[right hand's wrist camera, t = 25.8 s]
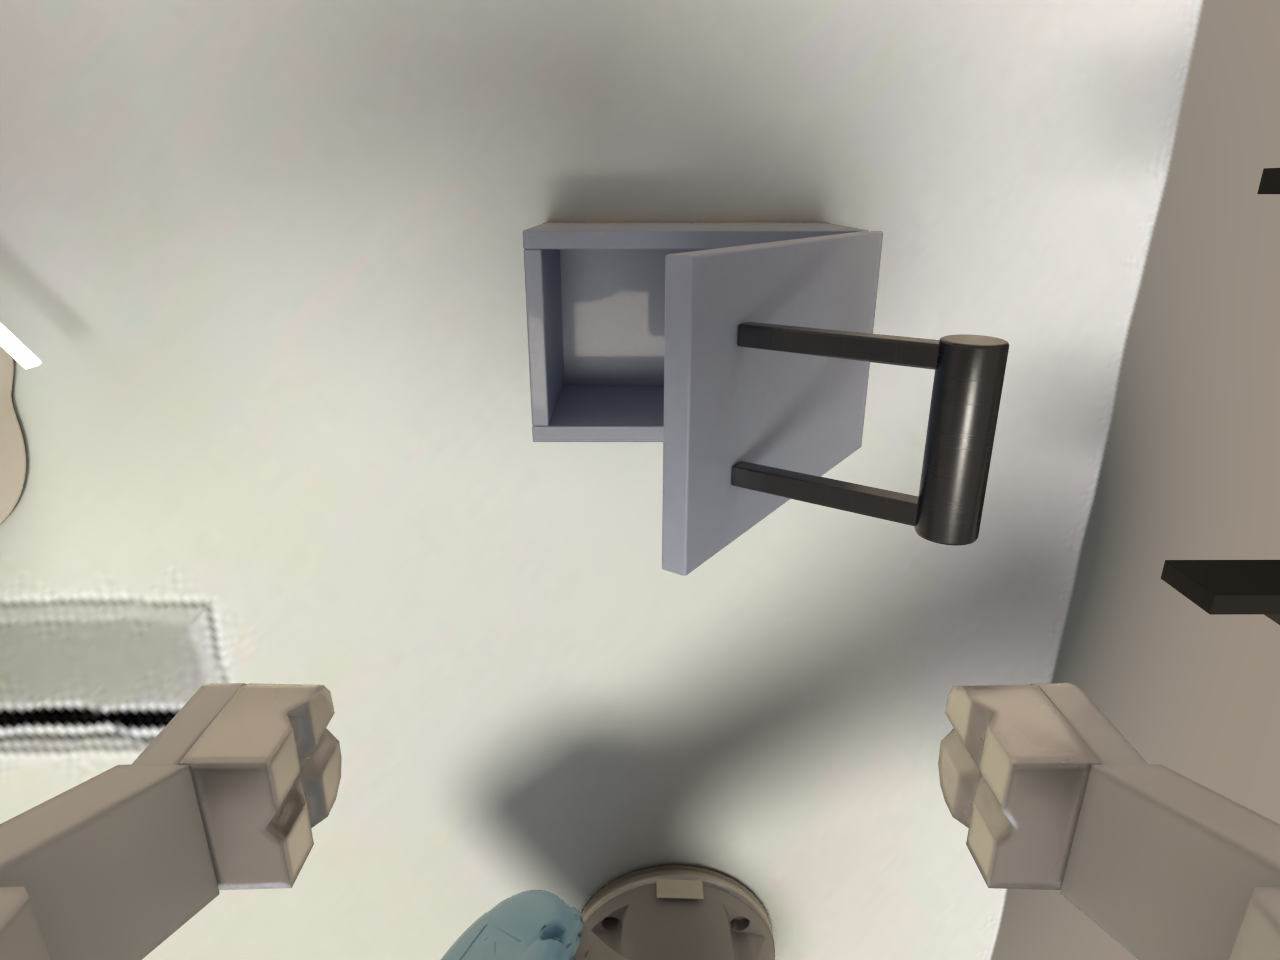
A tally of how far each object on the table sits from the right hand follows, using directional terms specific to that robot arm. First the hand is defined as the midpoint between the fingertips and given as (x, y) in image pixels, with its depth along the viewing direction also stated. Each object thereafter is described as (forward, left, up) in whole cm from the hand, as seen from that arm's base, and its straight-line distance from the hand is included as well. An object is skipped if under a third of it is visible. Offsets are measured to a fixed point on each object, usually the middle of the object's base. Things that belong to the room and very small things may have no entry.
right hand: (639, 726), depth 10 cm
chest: (+1, +2, -37) cm, 37 cm away
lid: (+3, +4, -21) cm, 21 cm away
